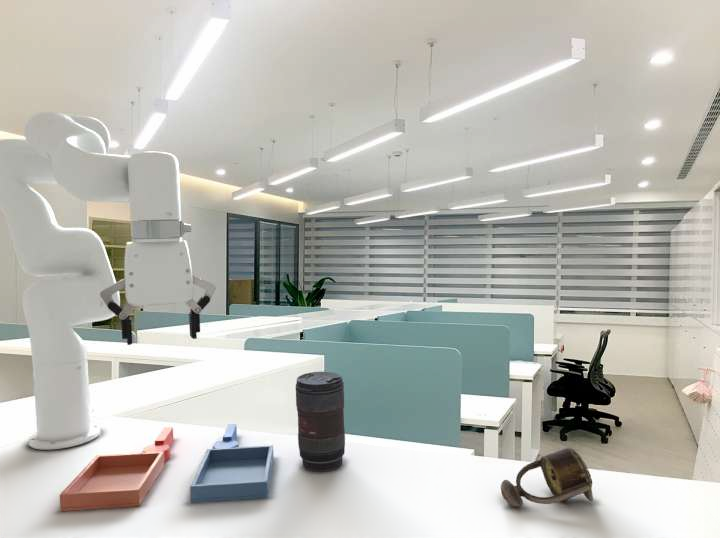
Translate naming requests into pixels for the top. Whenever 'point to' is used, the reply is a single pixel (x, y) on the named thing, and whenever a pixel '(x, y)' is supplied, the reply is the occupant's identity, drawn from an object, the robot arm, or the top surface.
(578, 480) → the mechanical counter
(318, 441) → the camera lens
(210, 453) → the blue tray
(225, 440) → the blue spoon
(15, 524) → the top surface
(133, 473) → the red tray
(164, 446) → the red spoon
